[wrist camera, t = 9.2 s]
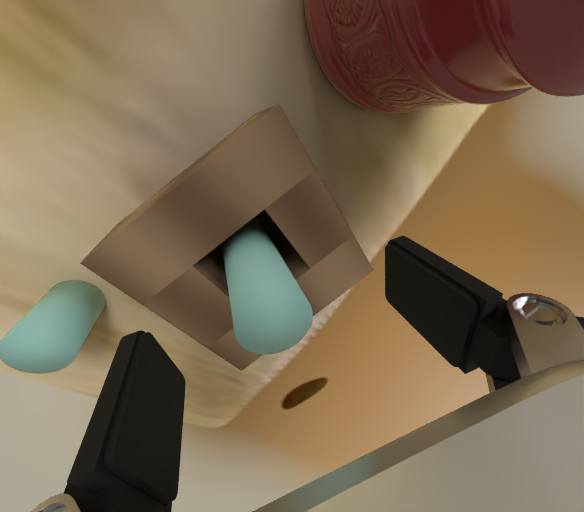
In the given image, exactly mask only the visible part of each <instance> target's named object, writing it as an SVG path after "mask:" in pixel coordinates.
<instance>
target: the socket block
mask: <svg viewBox="0 0 584 512" xmlns="http://www.w3.org/2000/svg"><path fill="white" fill-rule="evenodd" d="M263 210H265V211H266V212H267V213H268V215H269V216H270V217H271V219H272V220H273V221H274V222H275V224H276V225H277V226H278V228H279V229H280V230H281V232H282V233H283V234H284V235H285V236H284V237H282V238H281V239H280V240H278V241H277V242H276V243H275V244H274V246H275V247H276V249H277V251H278V252H279V254H280V255H281V257H282V259H283V260H284V262H285V264H286V265H287V267H288V269H289V270H290V272H291V273H292V275H293V277H294V278H295V280H296V282H297V283H298V285H299V287H300V288H301V290H302V292H303V293H304V295H305V296H306V298H307V300H308V301H309V303H310V305H311V308H312V312H313V316H314V315H315V314H317V313H318V312H319V311H320V310H322V309H323V308H324V307H326V306H327V305H328V304H330V303H331V302H332V301H334V300H335V299H336V298H337V297H339V296H340V295H341V294H343V293H344V292H345V291H347V290H348V289H349V288H351V287H352V286H353V285H354V284H356V283H357V282H358V281H360V280H361V279H362V278H364V277H365V276H366V275H368V274H369V273H370V272H371V271H373V268H372V267H371V265H370V263H369V261H368V260H367V258H366V256H365V254H364V253H363V251H362V249H361V247H360V246H359V244H358V242H357V240H356V239H355V237H354V235H353V233H352V232H351V230H350V228H349V226H348V224H347V223H346V221H345V219H344V217H343V216H342V214H341V212H340V210H339V209H338V207H337V205H336V203H335V202H334V200H333V198H332V196H331V195H330V193H329V191H328V189H327V188H326V186H325V184H324V182H323V180H322V179H321V177H320V175H319V173H318V172H317V170H316V168H315V166H314V165H313V163H312V161H311V159H310V158H309V156H308V154H307V152H306V151H305V149H304V147H303V145H302V143H301V142H300V140H299V138H298V136H297V135H296V133H295V131H294V129H293V128H292V126H291V124H290V122H289V121H288V119H287V117H286V115H285V114H284V112H283V110H282V108H281V107H280V105H277V106H275V107H272V108H269V109H267V110H264V111H261V112H259V113H256V114H255V115H254V116H252V117H251V118H250V119H249V120H247V121H246V122H245V123H244V124H242V125H241V126H240V127H239V128H237V129H236V130H235V131H234V132H232V133H231V134H230V135H229V136H227V137H226V138H225V139H224V140H222V141H221V142H220V143H219V144H217V145H216V146H215V147H214V148H212V149H211V150H210V151H209V152H207V153H206V154H205V155H203V156H202V157H201V158H200V159H198V160H197V161H196V162H195V163H193V164H192V165H191V166H190V167H188V168H187V169H186V170H185V171H183V172H182V173H181V174H180V175H178V176H177V177H176V178H175V179H173V180H172V181H171V182H170V183H168V184H167V185H166V186H165V187H163V188H162V189H161V190H160V191H158V192H157V193H156V194H155V195H153V196H152V197H151V198H150V199H148V200H147V201H146V202H144V203H143V204H142V205H141V206H139V207H138V208H137V209H136V210H134V211H133V212H132V213H131V214H129V215H128V216H127V217H126V218H124V219H123V220H122V221H121V222H119V223H118V224H117V225H116V226H115V227H114V228H113V229H112V230H111V231H110V232H109V234H108V235H107V236H106V237H105V238H104V239H103V240H102V241H101V242H100V243H99V244H98V245H97V246H96V247H95V248H94V249H93V250H92V251H91V252H90V253H89V254H88V255H87V256H86V258H85V259H84V260H83V261H82V262H81V264H82V265H84V266H85V267H87V268H88V269H90V270H91V271H93V272H94V273H96V274H97V275H99V276H100V277H102V278H103V279H105V280H106V281H108V282H109V283H111V284H112V285H114V286H115V287H117V288H118V289H120V290H121V291H123V292H124V293H126V294H127V295H129V296H130V297H132V298H133V299H135V300H136V301H138V302H139V303H141V304H142V305H144V306H145V307H147V308H148V309H150V310H151V311H153V312H154V313H156V314H157V315H159V316H160V317H162V318H163V319H165V320H166V321H168V322H169V323H171V324H172V325H174V326H175V327H177V328H178V329H180V330H181V331H183V332H184V333H186V334H187V335H189V336H190V337H192V338H193V339H195V340H196V341H198V342H199V343H201V344H202V345H204V346H205V347H207V348H208V349H210V350H211V351H213V352H214V353H216V354H217V355H219V356H220V357H222V358H223V359H225V360H226V361H228V362H229V363H231V364H232V365H234V366H235V367H237V368H238V369H240V370H241V371H242V370H243V369H245V368H246V367H247V366H249V365H250V364H251V363H252V362H254V361H255V360H256V359H258V358H259V357H260V356H262V355H263V354H256V353H252V352H250V351H248V350H246V349H244V348H243V347H242V346H241V345H240V344H239V343H238V341H237V340H236V337H235V333H234V326H233V319H232V312H231V306H230V299H229V292H228V285H227V278H226V271H225V264H224V257H223V256H222V255H221V254H220V253H219V252H218V251H217V250H216V249H215V248H216V247H217V246H218V245H220V244H221V243H222V242H223V241H225V240H226V239H227V238H228V237H230V236H231V235H232V234H234V233H235V232H236V231H237V230H239V229H240V228H241V227H242V226H244V225H245V224H246V223H248V222H249V221H250V220H251V219H253V218H254V217H255V216H257V215H258V214H259V213H260V212H262V211H263Z"/></svg>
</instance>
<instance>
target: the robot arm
mask: <svg viewBox="0 0 584 512" xmlns="http://www.w3.org/2000/svg"><path fill="white" fill-rule="evenodd" d="M502 295H503V293H501V292H499V291H498V290H496V289H494V288H492V287H491V286H489V285H487V284H486V283H484V282H482V281H481V280H479V279H477V278H475V277H474V276H472V275H470V274H469V273H467V272H465V271H464V270H462V269H460V268H458V267H457V266H455V265H453V264H452V263H450V262H448V261H446V260H445V259H443V258H441V257H440V256H438V255H436V254H434V253H433V252H431V251H429V250H428V249H426V248H424V247H423V246H421V245H419V244H417V243H416V242H414V241H412V240H411V239H409V238H407V237H405V236H401V237H398V238H395V239H392V240H390V241H389V242H388V245H387V246H386V247H385V296H386V299H387V301H388V302H389V303H390V304H391V305H392V306H393V307H394V308H395V309H396V310H397V311H398V312H399V313H400V314H401V315H402V316H403V317H404V318H405V319H406V320H407V321H408V322H409V323H410V324H411V325H412V326H413V327H414V328H415V329H416V330H417V331H418V332H419V333H420V334H421V335H422V336H423V337H424V338H425V339H426V340H427V341H428V342H429V343H430V344H431V345H432V346H433V347H434V348H435V349H436V350H437V351H438V352H439V353H440V354H441V355H442V356H443V357H444V358H445V359H446V360H447V361H448V362H449V363H450V364H451V365H452V366H454V367H459V368H460V369H461V370H462V371H463V372H464V373H465V374H466V373H468V372H470V371H473V370H475V369H477V368H478V367H480V369H482V370H483V371H484V372H485V373H486V378H487V383H488V387H489V391H490V393H489V394H487V395H485V396H483V397H481V398H479V399H477V400H475V401H473V402H471V403H469V404H467V405H465V406H463V407H461V408H459V409H457V410H455V411H453V412H451V413H449V414H446V415H444V416H443V417H440V418H438V419H437V420H434V421H432V422H430V423H428V424H426V425H424V426H422V427H420V428H418V429H417V430H414V431H412V432H410V433H408V434H406V435H404V436H402V437H400V438H398V439H396V440H394V441H392V442H390V443H388V444H386V445H384V446H382V447H380V448H378V449H376V450H374V451H372V452H370V453H368V454H366V455H364V456H362V457H360V458H358V459H356V460H354V461H352V462H350V463H348V464H346V465H344V466H342V467H340V468H338V469H336V470H334V471H332V472H330V473H328V474H326V475H324V476H322V477H320V478H318V479H316V480H314V481H312V482H310V483H308V484H306V485H304V486H302V487H300V488H298V489H296V490H294V491H292V492H290V493H288V494H287V495H285V496H282V497H281V498H279V499H277V500H275V501H273V502H271V503H269V504H267V505H265V506H263V507H261V508H259V509H257V510H255V511H253V512H584V318H583V317H577V316H575V315H574V314H573V313H572V312H571V310H570V309H569V308H567V307H566V306H564V305H563V304H562V303H560V302H558V301H556V300H553V299H552V298H549V297H545V296H542V295H537V294H530V293H529V294H528V293H521V294H517V295H513V296H512V297H510V298H509V299H508V301H506V300H505V299H503V298H502ZM184 398H185V379H184V376H183V375H182V373H181V372H180V371H179V369H178V368H177V367H176V365H175V364H174V363H173V361H172V360H171V359H170V358H169V356H168V355H167V354H166V352H165V351H164V350H163V348H162V347H161V346H160V344H159V343H158V342H157V341H156V339H155V338H154V337H153V335H152V334H151V333H149V332H147V333H145V332H144V331H137V332H135V333H132V334H129V335H126V336H124V337H122V339H121V341H120V343H119V346H118V348H117V351H116V354H115V356H114V359H113V362H112V364H111V367H110V369H109V372H108V375H107V377H106V380H105V383H104V385H103V388H102V391H101V393H100V396H99V398H98V401H97V404H96V406H95V409H94V412H93V414H92V417H91V419H90V422H89V425H88V427H87V430H86V433H85V435H84V438H83V440H82V443H81V446H80V449H79V451H78V454H77V456H76V459H75V462H74V464H73V467H72V469H71V472H70V475H69V477H68V480H67V482H68V483H67V486H66V488H65V491H64V494H58V495H55V496H53V497H50V498H49V499H47V500H46V501H44V502H43V503H41V504H39V505H38V506H37V507H36V508H35V509H34V510H33V511H32V512H171V507H172V501H173V500H175V498H176V496H177V492H178V481H179V467H180V452H181V439H182V426H183V412H184Z"/></svg>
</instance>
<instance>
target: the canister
mask: <svg viewBox="0 0 584 512" xmlns="http://www.w3.org/2000/svg"><path fill="white" fill-rule="evenodd" d="M304 12H305V19H306V25H307V30H308V34H309V38H310V42H311V45H312V48H313V51H314V54H315V56H316V59H317V61H318V63H319V65H320V67H321V69H322V71H323V73H324V74H325V76H326V78H327V79H328V81H329V82H330V83H331V85H332V86H333V87H334V88H335V89H336V90H337V92H338V93H339V94H341V95H342V96H343V97H344V98H345V99H347V100H348V101H349V102H351V103H353V104H354V105H356V106H358V107H361V108H364V109H367V110H370V111H373V112H377V113H382V114H400V113H408V112H413V111H416V110H419V109H422V108H427V107H435V106H444V105H453V104H461V103H470V104H493V103H498V102H502V101H505V100H509V99H511V98H514V97H516V96H518V95H520V94H522V93H524V92H526V91H528V90H530V89H531V88H535V89H537V90H539V91H541V92H544V93H546V94H550V95H555V96H579V95H584V0H304Z"/></svg>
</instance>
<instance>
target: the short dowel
mask: <svg viewBox="0 0 584 512" xmlns="http://www.w3.org/2000/svg"><path fill="white" fill-rule="evenodd" d="M105 302H106V301H105V296H104V294H103V293H102V291H101V290H100V289H98V288H97V287H96V286H94V285H92V284H90V283H87V282H84V281H77V280H71V281H65V282H61V283H59V284H57V285H55V286H54V287H53V288H52V289H51V290H50V291H49V292H48V293H47V294H46V295H45V296H44V297H43V298H42V299H41V300H40V301H39V302H38V303H37V304H36V305H35V306H34V307H33V308H32V309H31V310H30V311H29V312H28V313H27V314H26V315H25V316H24V317H23V318H22V319H21V320H20V321H19V322H18V323H17V324H16V325H15V326H14V327H13V328H12V329H11V330H10V331H9V332H8V334H7V335H6V336H5V337H4V338H3V339H2V340H1V341H0V358H1V360H2V361H3V362H4V363H5V364H7V365H8V366H10V367H12V368H14V369H16V370H19V371H23V372H28V373H49V372H54V371H58V370H60V369H63V368H65V367H66V366H68V365H69V364H70V363H71V362H72V361H73V360H74V359H75V357H76V355H77V354H78V352H79V350H80V348H81V347H82V345H83V343H84V341H85V340H86V338H87V336H88V334H89V333H90V331H91V329H92V328H93V326H94V324H95V322H96V321H97V319H98V317H99V315H100V314H101V312H102V310H103V308H104V307H105Z"/></svg>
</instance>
